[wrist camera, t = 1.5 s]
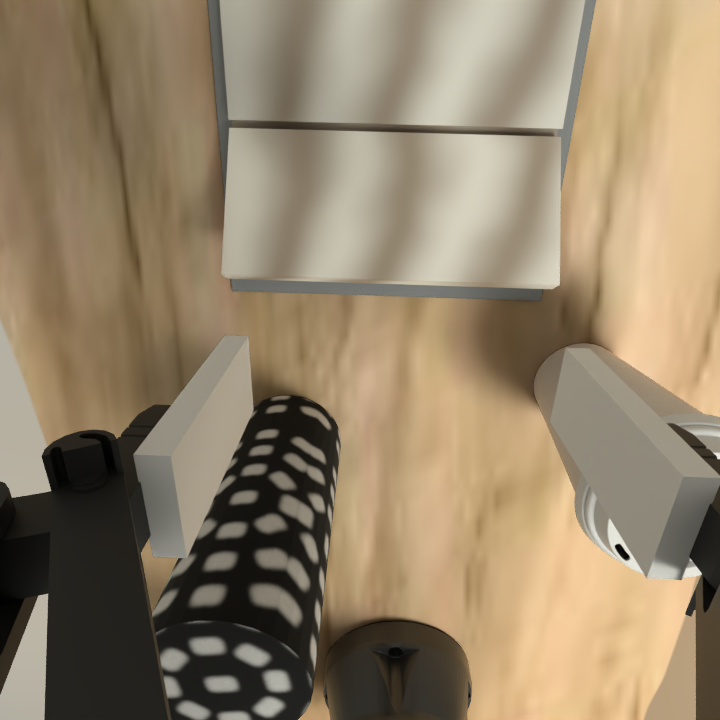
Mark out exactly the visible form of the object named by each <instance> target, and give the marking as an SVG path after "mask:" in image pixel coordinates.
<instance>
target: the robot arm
mask: <svg viewBox="0 0 720 720" xmlns="http://www.w3.org/2000/svg"><path fill="white" fill-rule="evenodd" d="M253 410H254V409H253V395H252V380H251V366H250V352H249V337H248V336H230V335H225V336H224V337H223V338H222V340H221V341H220V342H219V344H218V345H217V346H216V348H215V349H214V350H213V351H212V353H211V354H210V355H209V357H208V358H207V359H206V361H205V362H204V363H203V364H202V366H201V367H200V368H199V370H198V371H197V372H196V374H195V375H194V376H193V377H192V379H191V380H190V381H189V383H188V384H187V385H186V387H185V388H184V389H183V390H182V392H181V393H180V394H179V396H178V397H177V398H176V400H175V401H174V402H173V403H172V405H153V406H152V407H150V408H148V409H147V410H145V411H143V412H141V413H140V414H138V415H137V417H136V418H135V419H134V420H133V421H132V422H131V424H130V425H129V428H126V429H125V431H124V432H123V433H122V434H121V437H119V438H118V439H116V437H115V436H114V434H112V433H110V432H107V431H104V430H87V431H79V432H76V433H73V434H69V435H66V436H64V437H62V438H60V439H58V440H56V441H54V442H53V443H51V444H50V445H49V446H48V447H47V448H46V449H45V450H44V452H43V455H42V459H43V463H44V466H45V470H46V473H47V476H48V480H49V483H50V487H51V491H50V492H46V493H40V494H35V495H28V496H22V497H16V498H12V497H11V494H10V491H9V488H8V487H7V486H6V484H5V483H3V482H0V694H1V691H2V689H3V686H4V683H5V681H6V678H7V675H8V673H9V670H10V668H11V665H12V662H13V660H14V657H15V655H16V652H17V649H18V647H19V644H20V642H21V639H22V636H23V634H24V631H25V629H26V626H27V623H28V621H29V618H30V616H31V613H32V610H33V608H34V605H35V603H36V600H37V597H38V595H43V594H47V593H48V624H47V656H46V659H47V660H46V691H45V720H171V715H170V709H169V704H168V698H167V693H166V688H165V682H164V677H163V671H162V666H161V660H160V655H159V650H158V644H157V639H156V633H155V628H154V623H153V617H152V612H151V606H150V601H149V596H148V590H147V585H146V579H145V574H144V568H143V563H142V558H141V554H140V553H141V551H142V549H143V548H144V546H145V544H146V542H147V541H148V539H150V544H151V549H152V555H153V557H166V558H187V557H188V555H189V552H190V550H191V548H192V546H193V544H194V541H195V539H196V537H197V535H198V532H199V530H200V528H201V526H202V524H203V521H204V519H205V517H206V515H207V513H208V510H209V508H210V506H211V504H212V501H213V499H214V497H215V495H216V493H217V490H218V488H219V486H220V484H221V481H222V479H223V477H224V475H225V473H226V470H227V468H228V466H229V464H230V461H231V459H232V457H233V455H234V453H235V450H236V448H237V446H238V444H239V441H240V439H241V437H242V435H243V433H244V430H245V428H246V426H247V424H248V421H249V419H250V417H251V415H252V413H253ZM550 423H551V424H552V426H553V427H554V429H555V431H556V432H557V434H558V436H559V437H560V439H561V440H562V442H563V444H564V445H565V447H566V449H567V450H568V452H569V453H570V455H571V457H572V458H573V460H574V461H575V463H576V465H577V466H578V468H579V470H580V471H581V473H582V474H583V476H584V478H585V479H586V481H587V482H588V484H589V486H590V487H591V489H592V491H593V492H594V494H595V495H596V497H597V499H598V500H599V502H600V504H601V505H602V507H603V508H604V510H605V512H606V513H607V515H608V516H609V518H610V520H611V521H612V523H613V525H614V526H615V528H616V529H617V531H618V533H619V534H620V536H621V538H622V539H623V541H624V542H625V544H626V546H627V547H628V549H629V550H630V552H631V554H632V555H633V557H634V559H635V560H636V562H637V563H638V565H639V567H640V568H641V570H642V571H643V573H644V575H645V576H646V578H654V579H677V580H682V577H683V575H684V572H685V570H686V567H687V565H688V563H689V560H690V559H691V560H692V561H693V563H694V564H695V565H696V567H697V568H698V569H699V571H700V572H701V573H702V575H701V577H700V579H699V582H698V584H697V586H696V589H695V591H694V594H693V596H692V598H691V601H690V603H689V605H688V608H687V610H686V613H685V614H686V615H688V616H691V615H692V613H693V611H694V610H696V720H720V459H717V456H716V455H715V454H714V453H713V452H712V451H711V450H710V449H706V446H705V445H704V444H703V443H702V442H701V441H700V440H699V439H698V438H697V437H696V436H695V435H694V434H692V433H690V432H688V431H687V430H685V429H683V428H681V427H680V426H678V425H676V424H674V423H665V422H664V421H663V420H662V419H661V418H660V417H659V416H658V415H657V414H656V413H655V412H654V411H653V410H652V409H651V408H650V407H649V406H648V405H647V404H646V403H645V402H644V401H643V400H642V399H641V398H640V397H639V396H638V395H637V394H636V393H635V392H634V391H633V390H632V389H631V388H630V387H629V386H628V385H627V384H626V383H625V382H623V381H622V380H621V379H620V378H619V377H618V376H617V375H616V374H615V373H614V372H613V371H612V370H611V369H610V368H609V367H608V366H607V365H606V364H605V363H604V362H603V361H602V360H601V359H600V358H599V357H598V356H597V355H596V354H595V353H594V352H593V351H592V350H591V349H589V348H566V349H565V353H564V358H563V363H562V367H561V372H560V377H559V381H558V386H557V391H556V395H555V400H554V405H553V409H552V414H551V419H550ZM323 692H324V697H325V701H326V704H327V707H328V709H329V713H330V719H331V720H467V709H468V707H469V705H470V702H471V696H472V682H471V676H470V670H469V665H468V660H467V657H466V655H465V653H464V651H463V650H462V648H461V647H460V646H459V645H458V644H457V643H456V642H455V641H454V640H453V639H452V638H450V637H449V636H447V635H446V634H444V633H442V632H440V631H438V630H436V629H434V628H431V627H428V626H425V625H421V624H416V623H410V622H382V623H375V624H371V625H367V626H364V627H361V628H358V629H356V630H354V631H352V632H350V633H348V634H347V635H345V636H344V637H342V638H341V639H340V640H339V641H338V642H336V643H335V645H334V646H333V647H332V648H331V650H330V651H329V653H328V655H327V658H326V662H325V670H324V680H323Z"/></svg>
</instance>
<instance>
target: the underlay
mask: <svg viewBox="0 0 720 720" xmlns="http://www.w3.org/2000/svg"><path fill="white" fill-rule="evenodd" d="M595 3H596V0H585V5H584V10H583V16H582V22H581V28H580V33H579V39H578V45H577V50H576V56H575V62H574V67H573V73H572V79H571V85H570V90H569V96H568V102H567V107H566V113H565V119H564V125H563V129H558V133H557V137H561V189H562V183H563V178H564V172H565V167H566V161H567V156H568V151H569V145H570V140H571V134H572V129H573V123H574V118H575V112H576V107H577V101H578V96H579V90H580V85H581V79H582V74H583V68H584V63H585V57H586V52H587V46H588V41H589V35H590V30H591V24H592V19H593V14H594V8H595ZM208 9H209V21H210V33H211V45H212V57H213V69H214V81H215V93H216V105H217V117H218V129H219V141H220V153H221V165H222V177H223V189H224V201H225V195H226V177H227V159H228V141H229V128H233V127H232V120H228V107H227V93H226V80H225V67H224V54H223V40H222V27H221V14H220V1H219V0H208ZM231 285H232V291H252V292H283V293H314V294H344V295H375V296H405V297H436V298H466V299H497V300H527V301H541V299H542V293H543V289H528V288H497V287H466V286H436V285H405V284H374V283H343V282H312V281H281V280H250V279H231Z"/></svg>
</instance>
